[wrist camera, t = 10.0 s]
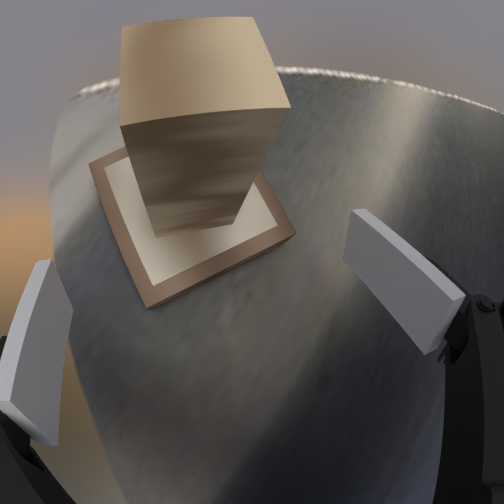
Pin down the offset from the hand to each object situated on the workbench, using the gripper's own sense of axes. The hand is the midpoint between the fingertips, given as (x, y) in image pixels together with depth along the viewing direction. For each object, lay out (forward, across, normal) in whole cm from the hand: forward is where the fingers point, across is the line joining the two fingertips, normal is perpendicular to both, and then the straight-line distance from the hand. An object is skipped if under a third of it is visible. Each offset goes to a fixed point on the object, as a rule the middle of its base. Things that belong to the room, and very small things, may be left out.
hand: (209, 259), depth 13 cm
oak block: (+9, 0, -1) cm, 9 cm away
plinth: (+11, 0, -3) cm, 11 cm away
